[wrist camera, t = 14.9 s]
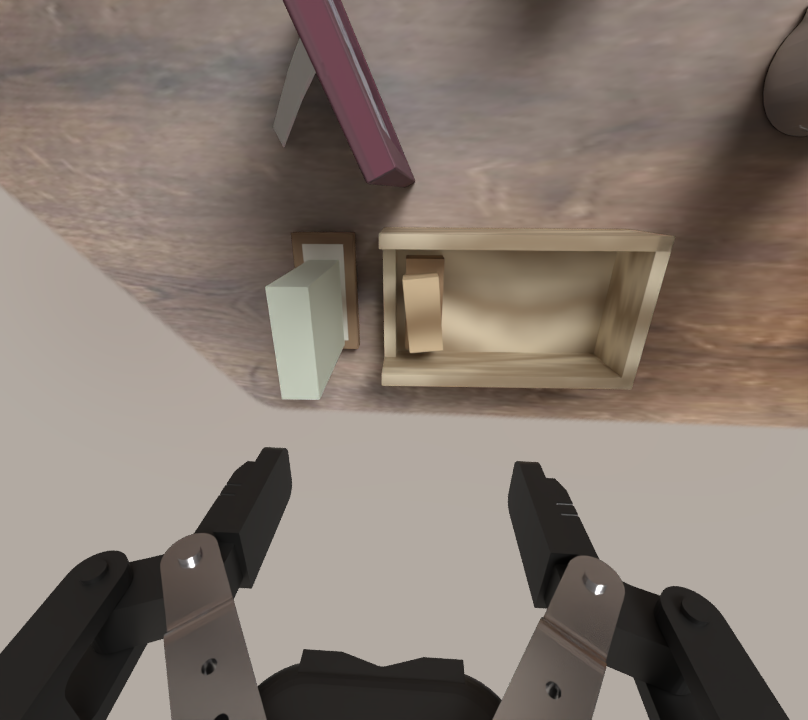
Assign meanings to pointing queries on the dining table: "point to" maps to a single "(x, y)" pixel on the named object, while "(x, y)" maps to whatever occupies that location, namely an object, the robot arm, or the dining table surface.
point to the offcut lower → (425, 265)
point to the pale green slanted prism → (306, 327)
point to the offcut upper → (423, 312)
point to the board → (345, 252)
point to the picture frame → (341, 90)
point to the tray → (527, 306)
